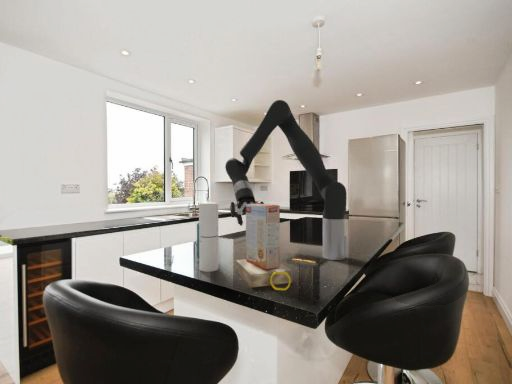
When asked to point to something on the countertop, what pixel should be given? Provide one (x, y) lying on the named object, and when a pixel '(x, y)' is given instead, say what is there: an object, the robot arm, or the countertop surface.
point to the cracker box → (263, 235)
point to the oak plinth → (261, 274)
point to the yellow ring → (280, 271)
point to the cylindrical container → (208, 237)
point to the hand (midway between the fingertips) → (252, 223)
